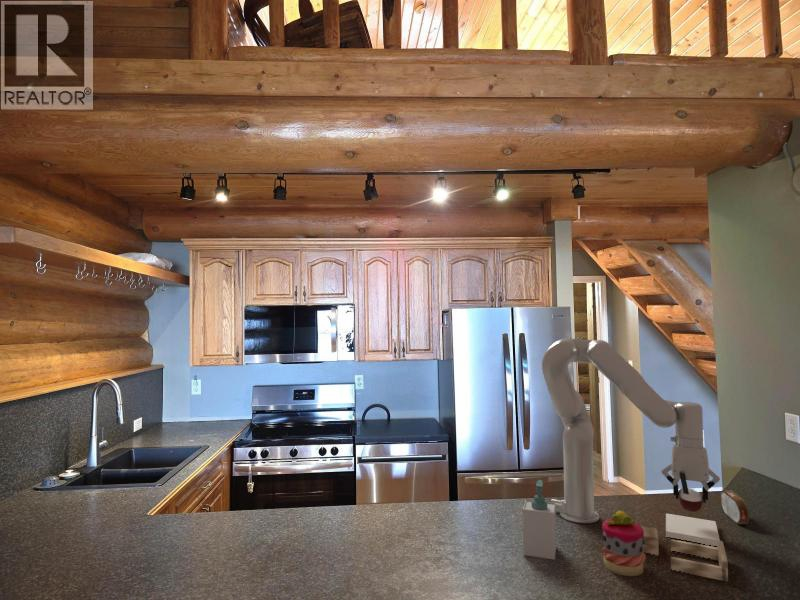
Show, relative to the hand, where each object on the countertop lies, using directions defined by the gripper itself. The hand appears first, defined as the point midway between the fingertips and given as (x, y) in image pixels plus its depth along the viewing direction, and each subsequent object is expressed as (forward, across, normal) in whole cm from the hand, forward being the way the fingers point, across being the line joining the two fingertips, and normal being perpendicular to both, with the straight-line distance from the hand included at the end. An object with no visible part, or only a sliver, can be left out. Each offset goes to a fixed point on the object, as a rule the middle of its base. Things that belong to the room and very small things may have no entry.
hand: (690, 499), depth 158 cm
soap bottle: (+10, -39, -35) cm, 53 cm away
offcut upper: (+8, -11, -18) cm, 23 cm away
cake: (+10, -17, -34) cm, 39 cm away
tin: (+11, +13, +19) cm, 25 cm away
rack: (+10, +1, -23) cm, 25 cm away
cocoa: (+3, 0, 0) cm, 4 cm away
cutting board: (+10, 0, 0) cm, 10 cm away
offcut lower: (+11, -11, -18) cm, 24 cm away
